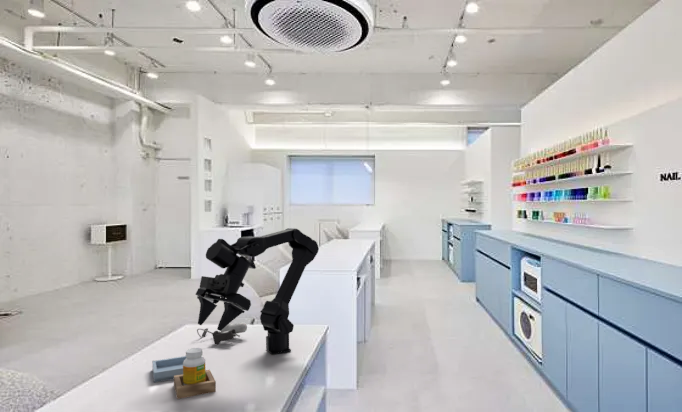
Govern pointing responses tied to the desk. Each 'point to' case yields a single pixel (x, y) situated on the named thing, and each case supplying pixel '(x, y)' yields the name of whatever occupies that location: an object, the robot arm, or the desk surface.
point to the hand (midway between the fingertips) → (208, 327)
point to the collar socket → (194, 386)
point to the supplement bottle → (194, 367)
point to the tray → (167, 368)
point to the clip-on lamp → (226, 332)
